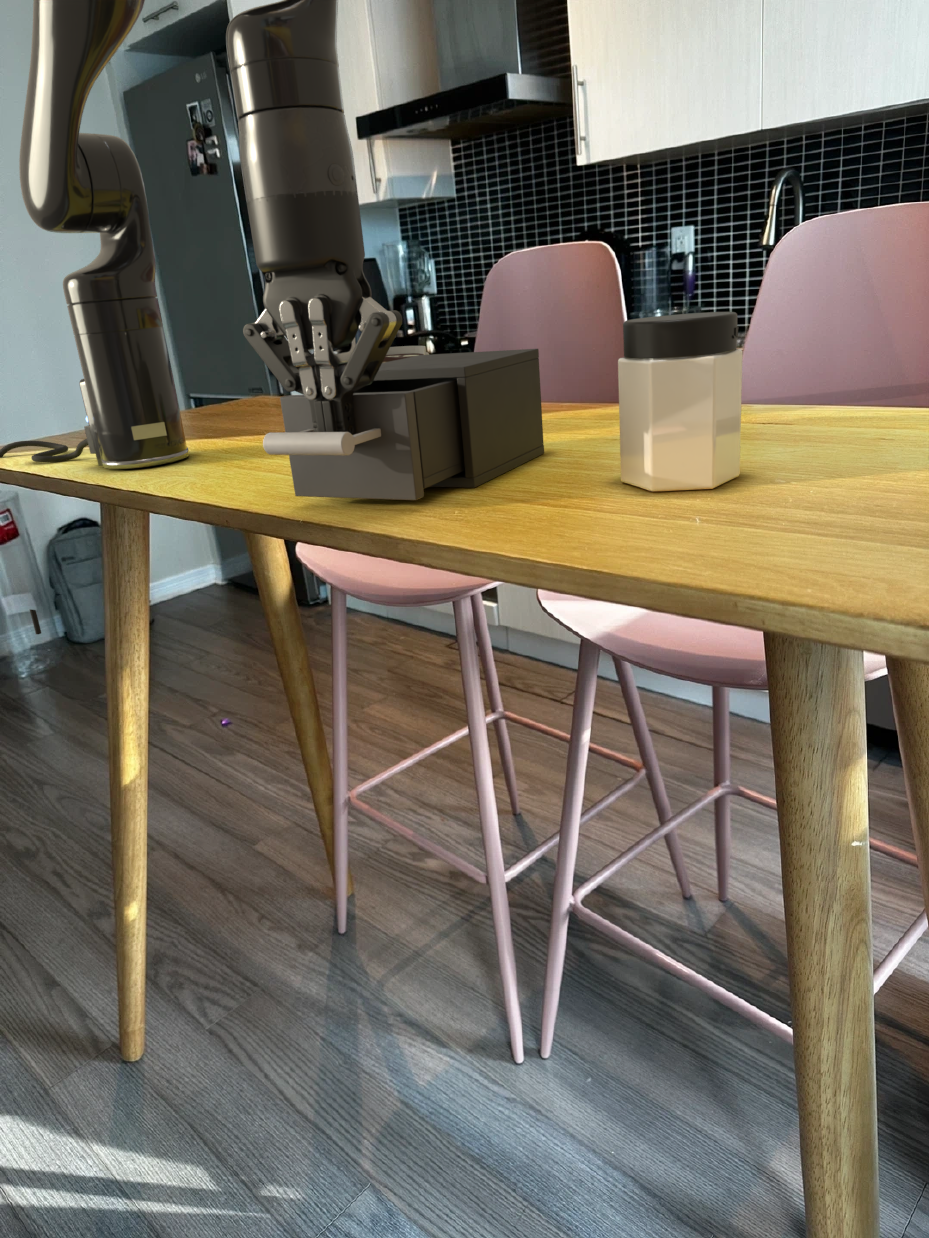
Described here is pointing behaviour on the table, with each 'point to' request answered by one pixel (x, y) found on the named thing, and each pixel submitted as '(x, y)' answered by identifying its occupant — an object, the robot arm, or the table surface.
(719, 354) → the jar
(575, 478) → the table surface
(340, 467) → the pulled-out drawer
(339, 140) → the robot arm
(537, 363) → the grey drawer unit
